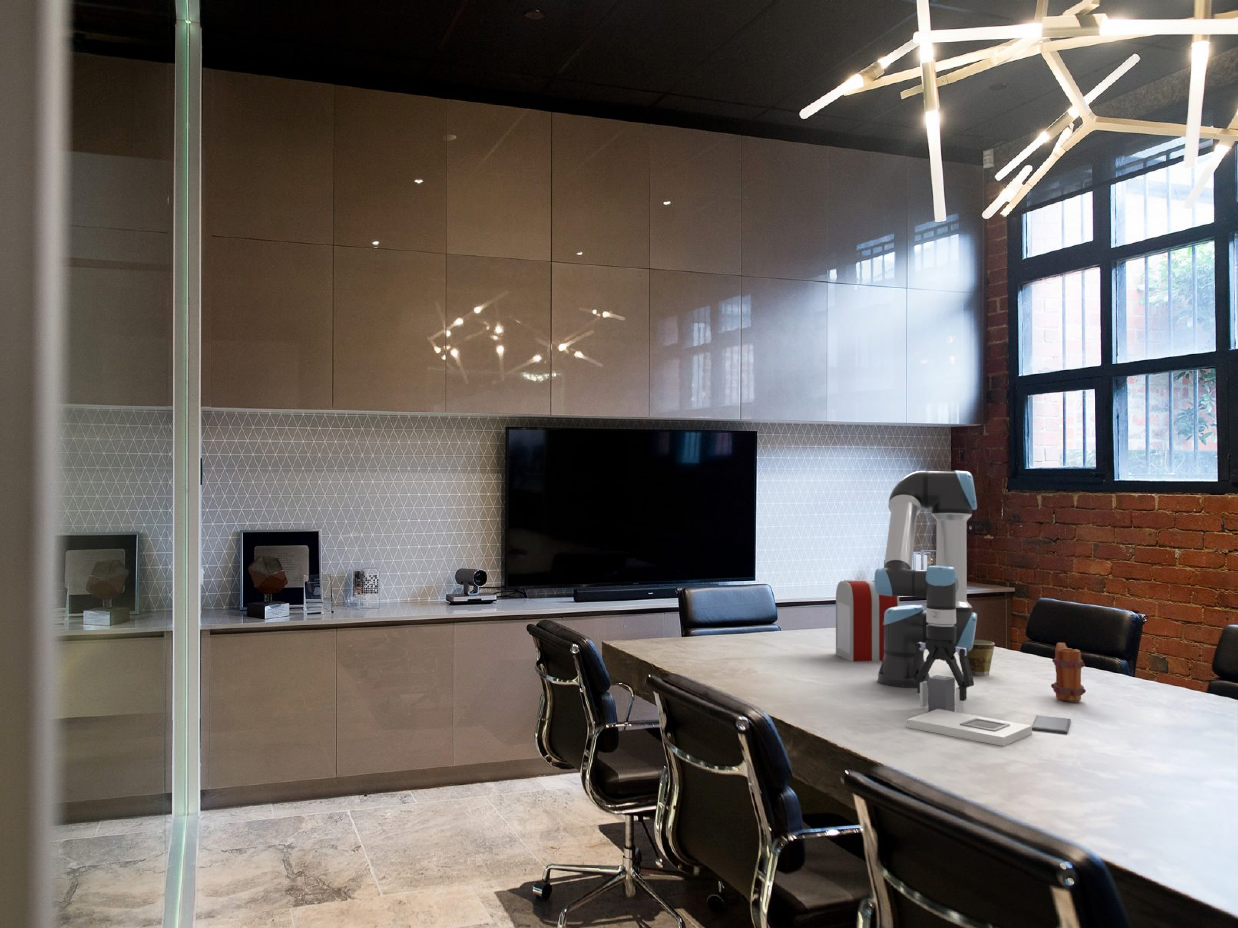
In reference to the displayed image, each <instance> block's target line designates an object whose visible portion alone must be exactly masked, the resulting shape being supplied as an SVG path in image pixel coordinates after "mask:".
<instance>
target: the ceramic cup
mask: <svg viewBox="0 0 1238 928" xmlns="http://www.w3.org/2000/svg"><path fill="white" fill-rule="evenodd" d="M994 650H995V642H993V641H990V640H984V639H983V640H982V639H974V643H973V647H972V649H971V650H970V651H968V661H969V665H970V669H971V673H972V676H988V675H990V671H991V665H992V658H993V654H994Z"/></svg>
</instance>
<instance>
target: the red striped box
mask: <svg viewBox="0 0 1238 928" xmlns="http://www.w3.org/2000/svg"><path fill="white" fill-rule="evenodd" d="M897 606H900V596H886V595H879V594H877V593H876V591H875V586H874V579H846V580H845V579H844V580H840V581H839V582H838V584H837V585H836V593H835V654H836V655H837V656H839V657H842V658H843V659H845V660H846V661H849V662H855V663H856V662H882V661H883V658H884V625H883V623H884V613H885V611H886V610H887V609H889V608H892V607H897Z"/></svg>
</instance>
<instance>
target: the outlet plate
mask: <svg viewBox="0 0 1238 928" xmlns="http://www.w3.org/2000/svg"><path fill="white" fill-rule="evenodd" d="M906 720H907V721H906V722H907V725H906V726H907V728H909V729H914V730H920V731H925V732H930V733H933V734H934V733H935V734H939V735H944V736H949V737H955V738H959V739H966V740H970V741H974V742H981V743H986V744H991V745H995V746H996V745H997V746H1001V747H1006V746H1008V745H1010V744H1012V743H1014V742H1016V741H1019V740H1021V739H1025V738H1027V737H1029V736H1030V735H1032V734H1033V730H1032V724H1026V723H1020V722H1019V723H1018V722H1015V721H1014V722H1013V721H1010V720H1009V721H1007V720H1003V719H997V718H991V717H987V716H986V717H985V716H979V715H975V714H974V715H973V714H969V713H964V712H963V713H958V712H956V711H955V712H952V711H947V710H941V709H936V710H933V711H930V712H928V711H927V712H924V713H922V714H919V715H916V716H913V717H910V718H907V719H906Z"/></svg>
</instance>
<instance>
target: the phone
mask: <svg viewBox="0 0 1238 928" xmlns="http://www.w3.org/2000/svg"><path fill="white" fill-rule="evenodd" d="M1071 723H1072V720H1071V718H1066V717H1058V716H1057V717H1055V716H1048V715H1037V714H1036V715H1035V718H1034V720H1033V722H1032V724H1031V726H1032V732H1033V731H1035V732H1042V733H1044V732H1045V733H1052V734H1054V733H1055V734H1061V735H1068V733H1069V728H1070V725H1071Z"/></svg>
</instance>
